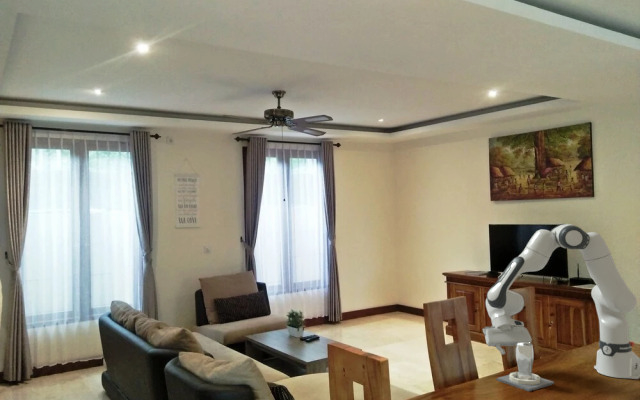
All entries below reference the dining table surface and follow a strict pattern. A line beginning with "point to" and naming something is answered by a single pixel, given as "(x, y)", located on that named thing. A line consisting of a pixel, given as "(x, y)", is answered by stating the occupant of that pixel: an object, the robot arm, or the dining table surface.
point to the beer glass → (524, 360)
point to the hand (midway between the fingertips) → (513, 353)
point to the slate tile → (526, 387)
